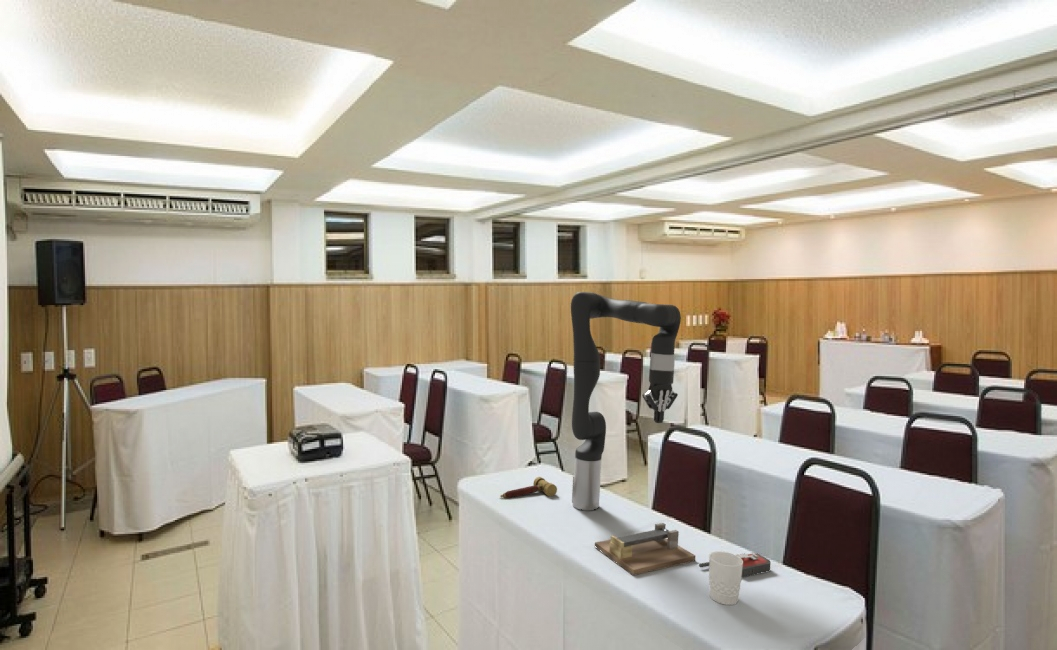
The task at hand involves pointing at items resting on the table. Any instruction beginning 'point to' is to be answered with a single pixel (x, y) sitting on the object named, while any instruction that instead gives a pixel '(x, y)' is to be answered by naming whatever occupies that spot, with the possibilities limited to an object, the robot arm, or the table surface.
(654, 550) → the latch board
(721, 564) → the white cup
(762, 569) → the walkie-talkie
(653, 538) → the strap
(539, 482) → the gavel
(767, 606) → the table surface
